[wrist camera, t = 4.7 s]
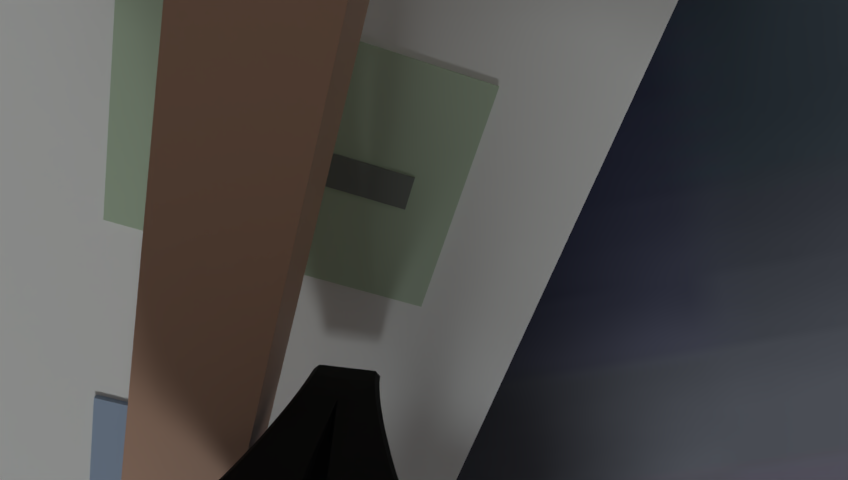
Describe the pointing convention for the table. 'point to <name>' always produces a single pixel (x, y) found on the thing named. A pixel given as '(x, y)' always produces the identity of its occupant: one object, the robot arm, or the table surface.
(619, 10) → the label panel
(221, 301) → the swing bar
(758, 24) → the table surface
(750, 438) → the table surface
